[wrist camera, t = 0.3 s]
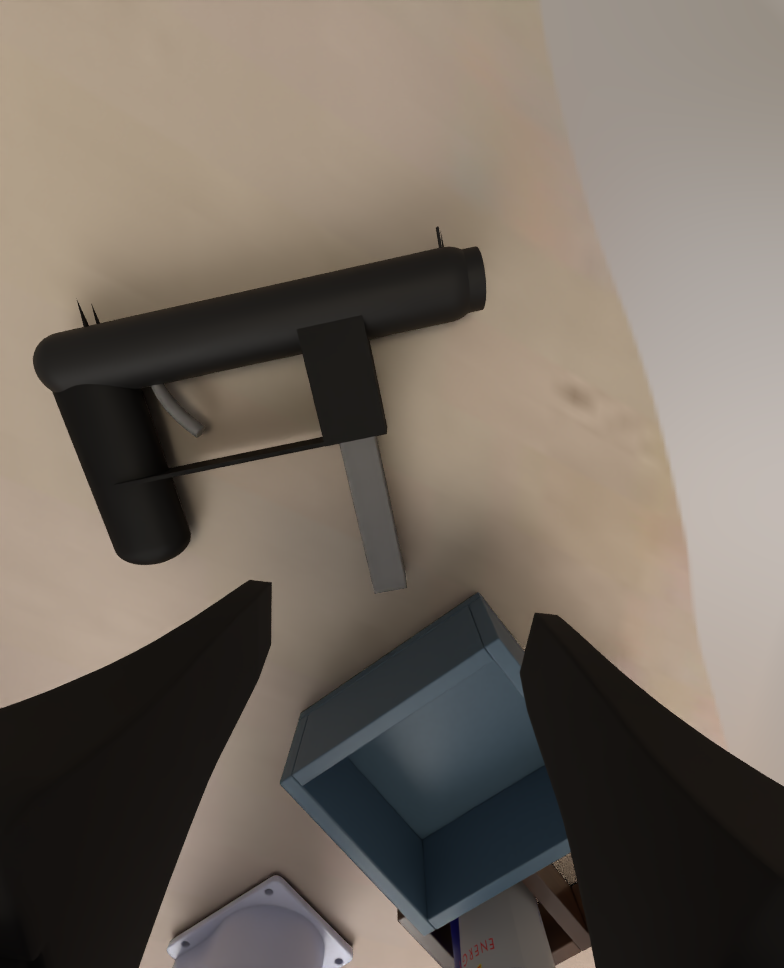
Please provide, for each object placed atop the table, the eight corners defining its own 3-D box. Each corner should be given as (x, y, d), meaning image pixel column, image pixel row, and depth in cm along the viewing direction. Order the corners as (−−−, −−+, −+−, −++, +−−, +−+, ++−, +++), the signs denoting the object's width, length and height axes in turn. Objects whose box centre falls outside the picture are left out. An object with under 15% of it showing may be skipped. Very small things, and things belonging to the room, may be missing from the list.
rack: (472, 955, 27) (479, 1007, 25) (396, 874, 26) (397, 920, 24) (679, 839, 26) (708, 883, 23) (608, 746, 24) (631, 783, 22)
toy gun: (527, 573, 20) (477, 197, 16) (129, 647, 21) (-10, 308, 17) (508, 546, 23) (463, 228, 19) (164, 611, 24) (54, 319, 20)
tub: (418, 844, 26) (423, 937, 21) (300, 712, 24) (278, 783, 20) (591, 738, 24) (636, 814, 20) (478, 591, 23) (499, 637, 18)
